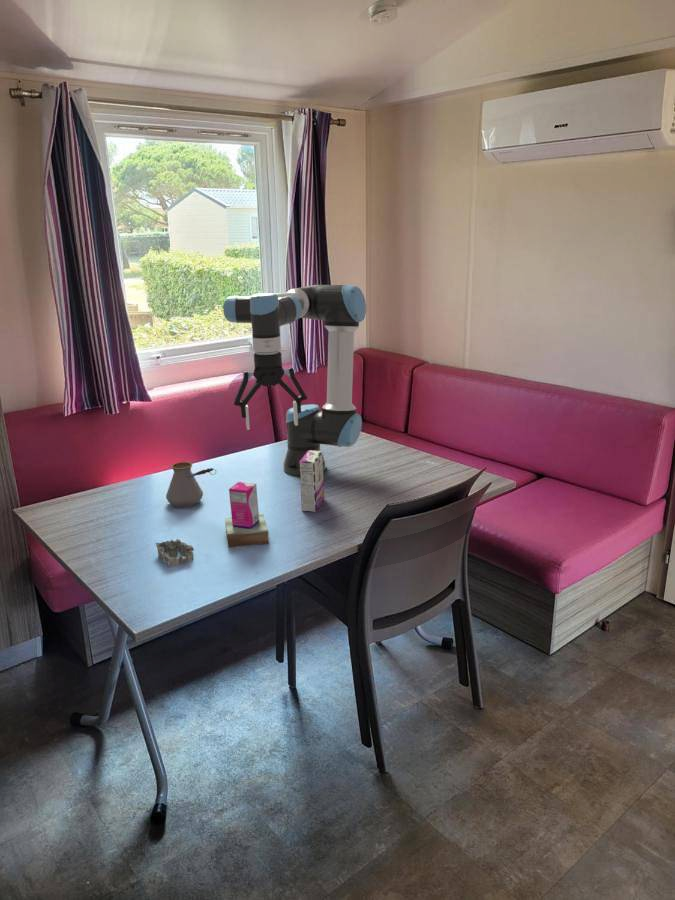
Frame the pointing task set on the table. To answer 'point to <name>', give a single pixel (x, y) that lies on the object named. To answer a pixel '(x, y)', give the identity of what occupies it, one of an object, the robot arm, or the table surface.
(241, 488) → the supplement box
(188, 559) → the rocky terrain model
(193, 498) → the coffee pot
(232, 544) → the block
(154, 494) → the table surface
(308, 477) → the candy bar box
